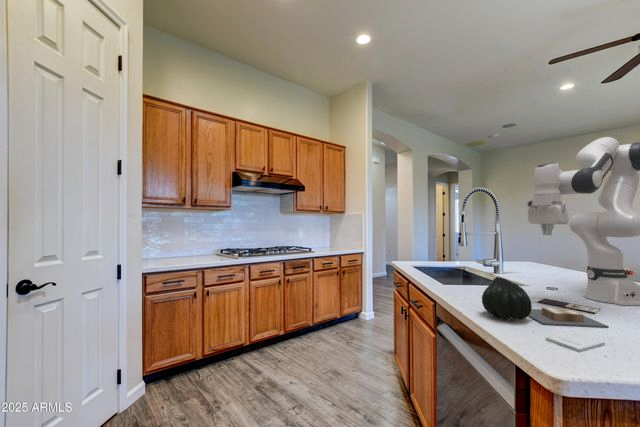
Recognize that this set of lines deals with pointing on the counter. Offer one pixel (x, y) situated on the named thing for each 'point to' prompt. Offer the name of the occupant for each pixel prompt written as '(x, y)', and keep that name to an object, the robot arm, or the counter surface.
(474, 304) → the counter surface
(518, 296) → the squash
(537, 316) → the mat
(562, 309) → the box
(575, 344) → the external hard drive
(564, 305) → the chocolate bar
